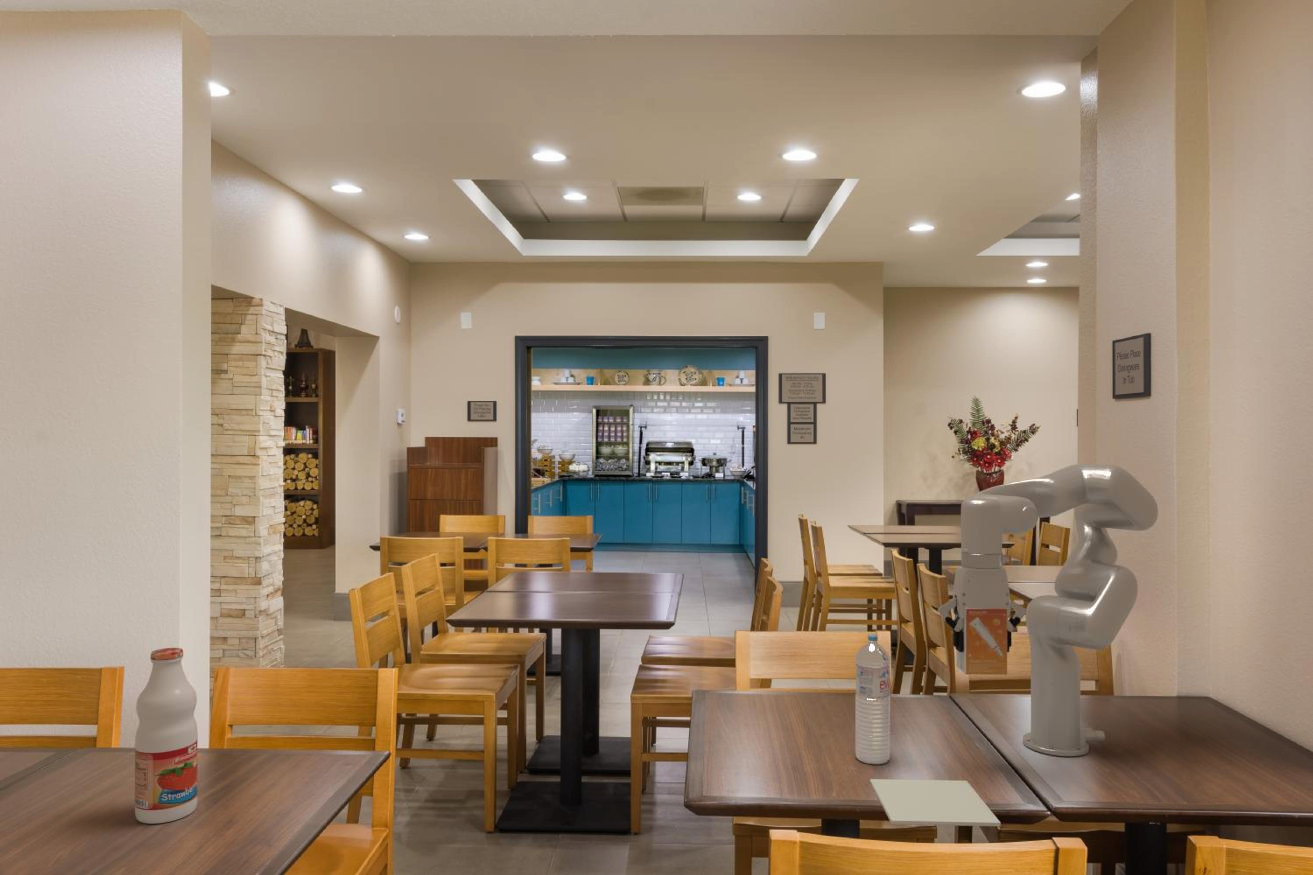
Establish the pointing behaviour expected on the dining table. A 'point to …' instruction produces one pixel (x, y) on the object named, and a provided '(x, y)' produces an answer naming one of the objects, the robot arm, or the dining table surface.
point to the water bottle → (872, 703)
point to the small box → (984, 642)
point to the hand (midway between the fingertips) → (982, 650)
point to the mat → (932, 803)
